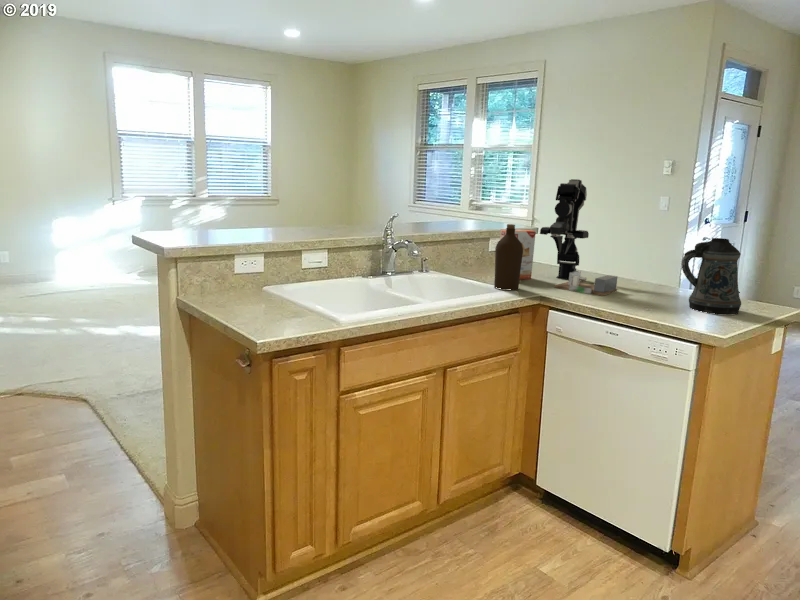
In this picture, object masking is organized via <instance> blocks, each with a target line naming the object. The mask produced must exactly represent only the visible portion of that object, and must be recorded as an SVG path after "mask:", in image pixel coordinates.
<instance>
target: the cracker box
mask: <svg viewBox="0 0 800 600" xmlns="http://www.w3.org/2000/svg"><path fill="white" fill-rule="evenodd" d="M536 232H537V231H535V230H532V229H515V236H516V237H517V238H518V240H519V241H520V242H521V244H522V246H523V255H522V263H521V270H520V278H519V280H531V279H532V271H533V264H534V254H535V253H534V252H535V243H536V242H535V241H536ZM505 235H506V228H505V229H500V235H499V236H500V237H499V241H500V240H501V239H502V238H503V237H504V236H505Z"/></svg>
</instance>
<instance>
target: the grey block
mask: <svg viewBox="0 0 800 600" xmlns="http://www.w3.org/2000/svg"><path fill="white" fill-rule="evenodd" d="M581 274H582V270H576V271H574V272H570V273H569V280H568V282H569V283H568V285H573V277H574V276H578V277H579V283H581V282H586V281H587V277H585V276H581Z"/></svg>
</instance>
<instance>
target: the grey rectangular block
mask: <svg viewBox="0 0 800 600" xmlns="http://www.w3.org/2000/svg"><path fill="white" fill-rule="evenodd" d="M594 285H595V286H594V291H596V292H602V293H605V292H608V291H611V290H614V289H617V285H618V276H616V275H610V274H608V275H603V276H599V277H595V278H594Z"/></svg>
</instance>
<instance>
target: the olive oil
mask: <svg viewBox="0 0 800 600" xmlns="http://www.w3.org/2000/svg"><path fill="white" fill-rule="evenodd" d="M505 229H506V235H505V236H504V237H503V238H502V239H501V240H500V239H499V240H498V241H497V243H496V246H495V248H494V249H495V251H494V252H495V253H494V254H495V255H494V257H495V258H494V260H495V261H494V282H493V285H494V287H493V288H495V287H497V288H501V289H511V290H510V291H518V290H519V286H520V279H519V278H520V270H521V263H522V255H523V246H522V244H521V242H520V241H519V240H518V238H517V237H516V236H515V230H516V224H511V223H509V224H506V228H505Z"/></svg>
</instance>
